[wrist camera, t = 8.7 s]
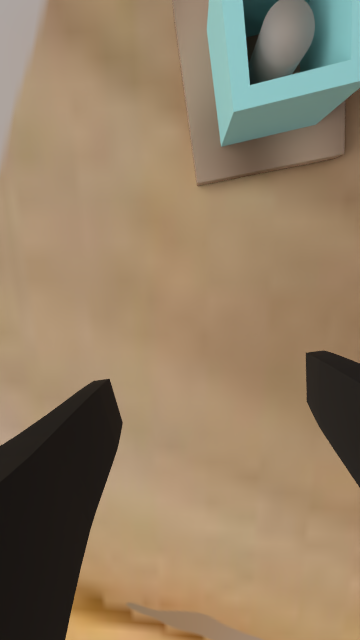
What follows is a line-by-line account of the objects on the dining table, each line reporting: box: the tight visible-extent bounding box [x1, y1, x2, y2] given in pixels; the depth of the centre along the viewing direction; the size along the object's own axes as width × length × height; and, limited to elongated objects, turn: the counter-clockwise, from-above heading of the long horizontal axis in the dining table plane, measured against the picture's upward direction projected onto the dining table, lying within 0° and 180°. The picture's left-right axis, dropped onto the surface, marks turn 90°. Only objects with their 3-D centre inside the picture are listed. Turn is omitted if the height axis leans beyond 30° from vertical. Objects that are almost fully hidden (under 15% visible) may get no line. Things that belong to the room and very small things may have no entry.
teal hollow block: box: [207, 0, 360, 147], centre depth 11 cm, size 5×5×4 cm
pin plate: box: [172, 0, 345, 186], centre depth 12 cm, size 8×8×4 cm
